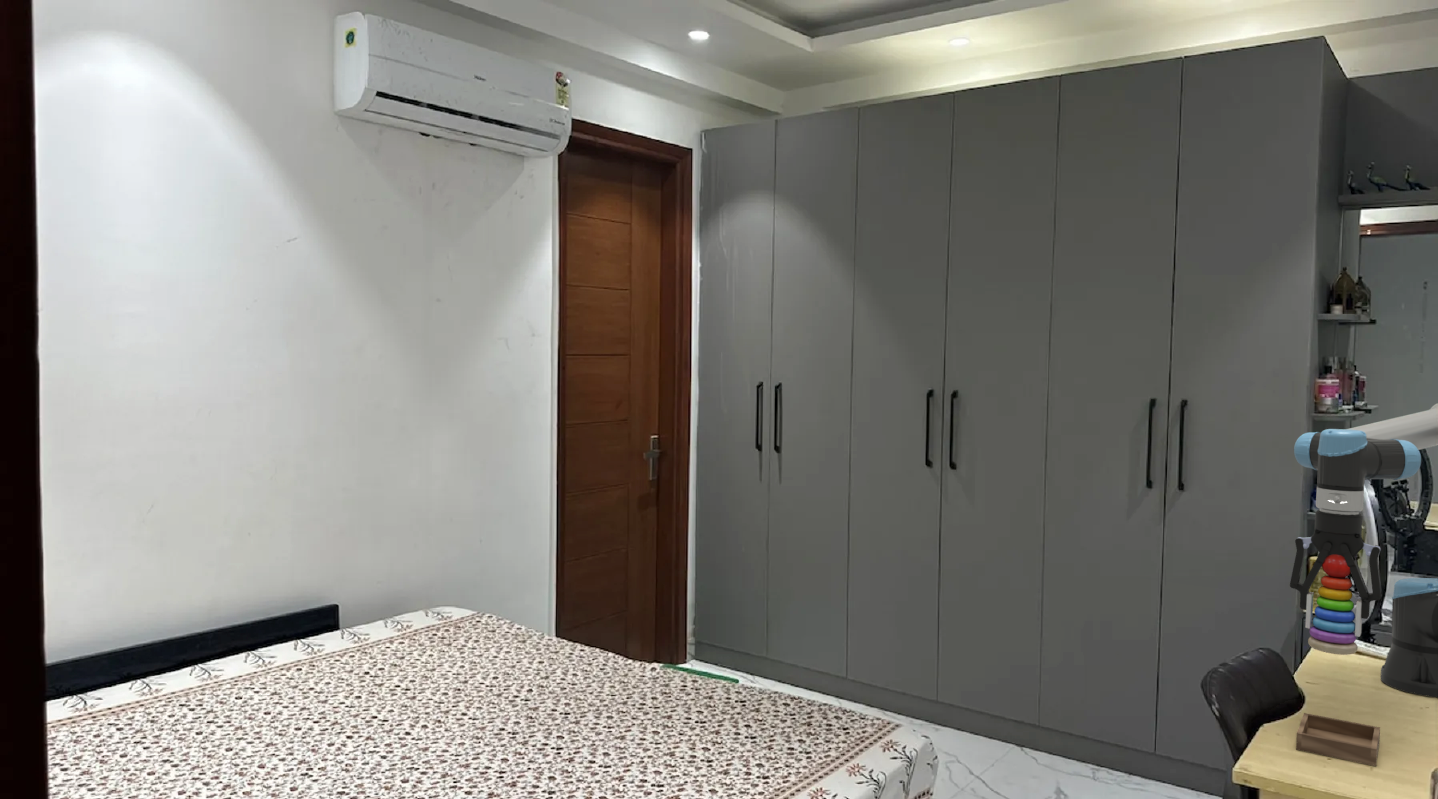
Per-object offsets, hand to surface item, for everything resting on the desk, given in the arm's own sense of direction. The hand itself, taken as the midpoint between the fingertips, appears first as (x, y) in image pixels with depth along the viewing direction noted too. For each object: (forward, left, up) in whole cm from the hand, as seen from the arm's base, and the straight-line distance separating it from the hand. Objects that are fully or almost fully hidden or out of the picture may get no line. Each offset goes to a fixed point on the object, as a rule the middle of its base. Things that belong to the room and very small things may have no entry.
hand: (1332, 630), depth 185 cm
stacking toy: (0, 0, -4) cm, 4 cm away
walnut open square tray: (+5, +8, -19) cm, 21 cm away
